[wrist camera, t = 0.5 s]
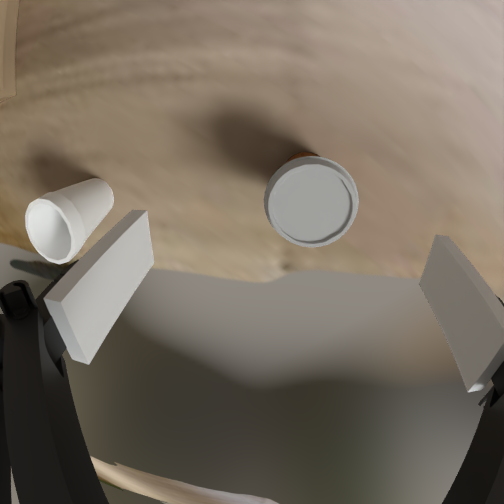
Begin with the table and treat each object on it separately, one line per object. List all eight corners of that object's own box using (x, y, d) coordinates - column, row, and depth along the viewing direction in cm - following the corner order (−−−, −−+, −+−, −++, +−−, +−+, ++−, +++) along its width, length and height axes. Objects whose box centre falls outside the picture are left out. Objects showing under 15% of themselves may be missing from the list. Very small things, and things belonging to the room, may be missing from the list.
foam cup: (67, 187, 43) (16, 220, 32) (100, 157, 40) (45, 184, 29) (97, 232, 47) (53, 273, 36) (132, 206, 44) (87, 247, 32)
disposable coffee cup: (297, 125, 36) (301, 138, 25) (355, 169, 37) (380, 199, 27) (256, 182, 40) (244, 217, 30) (312, 221, 42) (320, 267, 31)
